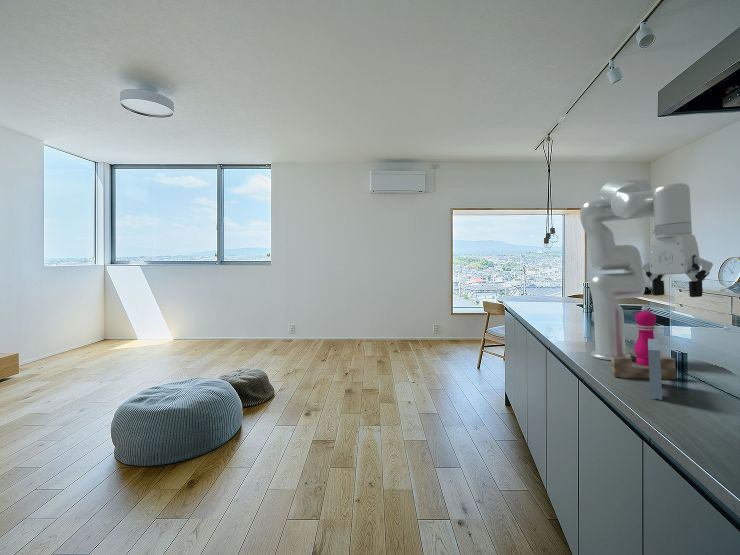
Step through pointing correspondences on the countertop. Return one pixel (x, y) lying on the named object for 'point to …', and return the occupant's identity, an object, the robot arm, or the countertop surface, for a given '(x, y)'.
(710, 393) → the countertop surface
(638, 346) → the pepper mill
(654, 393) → the light blue flat board
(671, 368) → the brown wooden u-shaped block
